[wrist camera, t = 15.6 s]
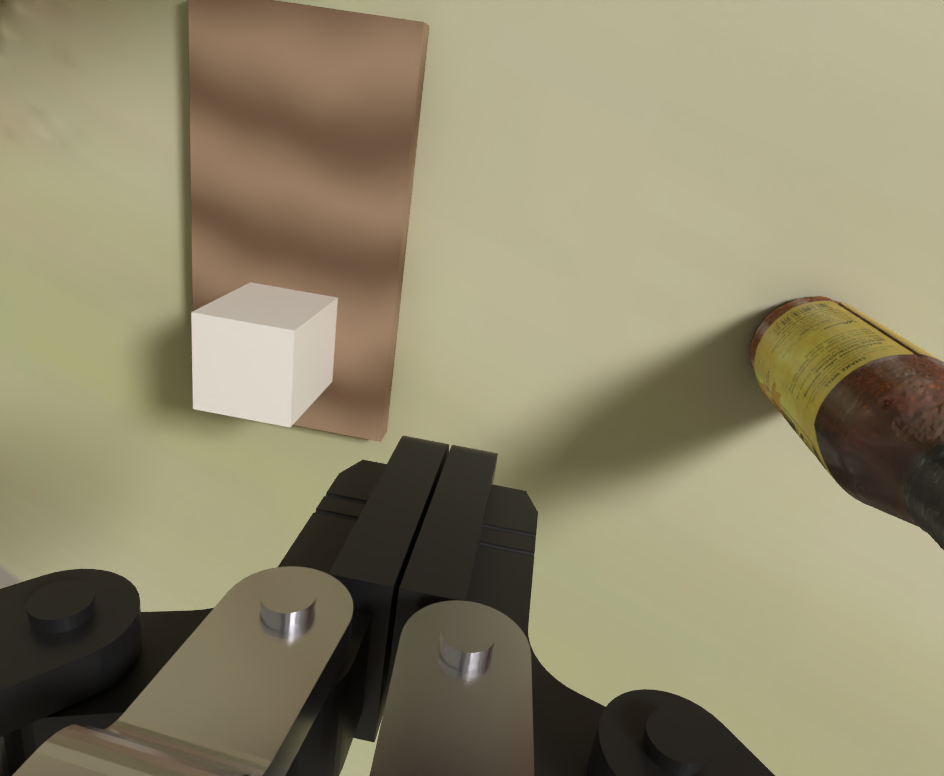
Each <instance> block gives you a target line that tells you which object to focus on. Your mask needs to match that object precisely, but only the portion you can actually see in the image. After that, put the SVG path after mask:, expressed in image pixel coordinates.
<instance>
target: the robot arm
mask: <svg viewBox="0 0 944 776" xmlns="http://www.w3.org/2000/svg"><path fill="white" fill-rule="evenodd" d="M497 456H498V453H492V452H487V451H482V450H477V449H471V448H466V447H461V446H456V445H452V446H451V449H450V451H449V444H444V443H439V442H434V441H429V440H423V439H418V438H413V437H408V436H402V437H401V439H400V441H399V443H398V445H397V447H396V448H395V450H394V452H393V454H392V456H391V458H390V460H389V462H388V463H387V464H382V463H377V462H372V461H367V460H362V461H360V462H358V463H357V464H355V465H353V466H351V467H350V468H348V469H346V470H344V471H343V472H341V473H339V475H338V476H337V478H336V479H335V481H334V482H333V484H332V485H331V487H330V488H329V490H328V491H327V494H326V497H325V496H324V497H323V499H322V500H321V502H320V504H319V505H318V507H317V508H316V512H315V513H313V514H312V516H311V517H310V519H309V520H308V522H307V523H306V525H305V526H304V528H303V529H302V531H301V533H300V534H299V536H298V537H297V539H296V540H295V542H294V543H293V545H292V546H291V548H290V549H289V551H288V552H287V554H286V555H285V557H284V558H283V560H282V561H281V563H280V565H279V566H278V567H277V568H271V569H267V570H263V571H260V572H257V573H255V574H252V575H250V576H248V577H246V578H244V579H243V580H241V581H240V582H238V583H237V584H236V585H234V586H233V587H232V588H231V589H230V590H229V591H228V592H227V594H226V595H225V596H224V597H223V598H222V599H221V601H220V602H219V603H218V604H217V605H216V606H215V608H210V609H205V610H193V611H163V612H141V611H140V598H139V593H138V591H137V589H136V587H135V586H134V585H133V584H132V583H131V582H130V581H129V580H127V579H126V578H124V577H122V576H120V575H118V574H115V573H112V572H108V571H104V570H96V569H74V570H65V571H60V572H54V573H51V574H47V575H43V576H40V577H37V578H34V579H30V580H27V581H24V582H21V583H18V584H15V585H12V586H8V587H5V588H2V589H0V776H339V774H340V772H341V770H342V768H343V765H344V762H345V759H346V757H347V754H348V751H349V748H350V745H351V742H352V740H353V738H357V739H362V740H366V741H371V742H375V739H376V736H377V732H378V729H379V726H380V723H381V727H380V731H379V736H378V740H377V745H376V749H375V754H374V758H373V763H372V767H371V772H370V776H775V775H774V774H773V773H772V772H771V771H770V770H769V769H768V768H767V767H766V766H765V765H764V764H763V763H762V762H761V761H760V760H759V759H758V758H757V757H756V756H755V755H754V754H753V753H752V752H751V751H749V750H748V749H747V748H746V747H745V746H744V745H743V744H742V743H741V742H740V741H739V740H738V739H737V738H736V737H735V736H734V735H733V734H732V733H731V732H730V731H729V730H728V729H727V728H726V727H725V726H724V725H723V724H722V723H721V722H720V721H719V720H718V719H717V718H715V717H714V716H713V715H712V714H711V713H709V712H708V711H706V710H705V709H704V708H702V707H700V706H699V705H697V704H695V703H693V702H692V701H690V700H687V699H685V698H683V697H680V696H678V695H675V694H671V693H668V692H664V691H658V690H645V689H643V690H634V691H630V692H627V693H623V694H621V695H620V696H618V697H616V698H614V699H613V700H612V701H611V702H610V703H609V704H608V705H607V706H606V707H605V706H603V705H601V704H599V703H597V702H595V701H593V700H591V699H589V698H587V697H585V696H583V695H581V694H579V693H577V692H575V691H573V690H571V689H570V688H568V687H566V686H565V685H563V684H562V683H561V682H559V681H558V680H556V679H555V678H554V677H553V676H552V675H551V674H550V673H549V672H548V671H547V670H546V669H545V668H544V667H543V666H542V665H541V663H540V662H539V661H538V659H537V657H536V656H535V654H534V652H533V650H532V648H531V645H530V642H529V637H528V622H529V610H530V599H531V587H532V575H533V564H534V552H535V540H536V538H535V537H536V529H537V517H538V511H537V510H536V508H535V506H534V505H533V503H532V501H531V499H530V498H529V496H528V494H527V492H526V491H522V490H517V489H512V488H507V487H502V486H497V485H493V480H494V474H495V468H496V462H497ZM382 717H383V718H382ZM381 720H382V722H381Z"/></svg>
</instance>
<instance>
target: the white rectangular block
mask: <svg viewBox="0 0 944 776" xmlns="http://www.w3.org/2000/svg"><path fill="white" fill-rule="evenodd" d="M337 303H338V298H337V297H331V296H326V295H320V294H314V293H309V292H303V291H297V290H291V289H286V288H280V287H274V286H268V285H263V284H257V283H251V282H250V283H248V284H246V285H244V286H242V287H240V288H238V289H236V290H234V291H232V292H230V293H228V294H226V295H224V296H222V297H220V298H218V299H216V300H214V301H212V302H210V303H208V304H207V305H205V306H203V307H201V308H199V309H197V310H195V311H193V312H191V322H192V378H193V409H196V410H201V411H206V412H211V413H217V414H222V415H227V416H232V417H238V418H243V419H248V420H253V421H259V422H264V423H269V424H274V425H280V426H285V427H291V426H292V425H293V424H294V423H295V422H296V421H297V420H298V419H299V418H300V416H301V415H302V414H303V413H304V412H305V411H306V410H307V409H308V408H309V407H310V405H311V404H312V403H313V402H314V401H315V400H316V399H317V398H318V397H319V396H320V395H321V393H322V392H323V391H324V390H325V389H326V388H327V387H328V386H329V385H330V384H331V382H332V378H333V363H334V348H335V333H336V318H337Z"/></svg>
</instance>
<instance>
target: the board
mask: <svg viewBox="0 0 944 776" xmlns="http://www.w3.org/2000/svg"><path fill="white" fill-rule="evenodd" d="M188 26H189V94H190V161H191V229H192V296H193V311H195V310H197V309H199V308H201V307H203V306H205V305H207V304H208V303H210V302H212V301H214V300H216V299H218V298H220V297H222V296H224V295H226V294H228V293H230V292H232V291H234V290H236V289H238V288H240V287H242V286H244V285H246V284H248V283H250V282H251V283H257V284H263V285H268V286H274V287H280V288H286V289H291V290H297V291H303V292H309V293H314V294H320V295H326V296H331V297H337V298H338V303H337V318H336V333H335V348H334V363H333V378H332V382H331V384H330V385H329V386H328V387H327V388H326V389H325V390H324V391H323V392H322V393H321V395H320V396H319V397H318V398H317V399H316V400H315V401H314V402H313V403H312V404H311V405H310V407H309V408H308V409H307V410H306V411H305V412H304V413H303V414H302V415H301V416H300V418H299V419H298V420H297V421H296V422H295V423H294V424H293V425H296V426H301V427H307V428H312V429H317V430H322V431H327V432H333V433H338V434H343V435H348V436H353V437H359V438H364V439H369V440H374V441H380V442H381V440H382V439H383V437H384V435H385V433H386V432H387V424H388V414H389V405H390V395H391V386H392V376H393V367H394V357H395V348H396V338H397V328H398V319H399V309H400V300H401V290H402V281H403V271H404V262H405V252H406V243H407V233H408V223H409V214H410V204H411V195H412V185H413V176H414V166H415V157H416V147H417V137H418V128H419V118H420V109H421V99H422V90H423V80H424V71H425V61H426V52H427V42H428V32H429V26H428V25H427V24H425V23H424V22H419V21H412V20H405V19H398V18H391V17H385V16H378V15H371V14H364V13H357V12H350V11H343V10H336V9H330V8H323V7H316V6H309V5H302V4H295V3H288V2H282V1H275V0H188Z"/></svg>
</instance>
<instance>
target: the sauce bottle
mask: <svg viewBox="0 0 944 776" xmlns="http://www.w3.org/2000/svg"><path fill="white" fill-rule="evenodd" d="M750 360H751V364H752V367H753V369H754V373H755V377H756V379H757V381H758V384H759V386H760V388H761V389H762V391H763V392H764V393H765V395H766V396H767V397H768V398H769V399H770V401H771V402H772V403H773V404H774V406H775V407H776V408H777V409H778V410H779V412H780V413H781V414H782V415H783V417H784V418H785V419H786V420H787V422H788V423H789V424H790V426H791V427H792V428H793V429H794V430H795V432H796V433H797V434H798V435H799V437H800V438H801V439H802V441H803V442H804V443H805V444H806V445H807V447H808V448H809V449H810V450H811V451H812V453H813V454H814V455H815V456H816V457H817V459H818V460H819V461H820V462H821V464H822V465H823V467H824V468H825V469H826V470H827V471H828V472H829V474H830V475H831V476H832V477H833V478H834V479H835V481H836V482H837V483H838V484H839V485H840V486H841V487H842V488H843V489H844V490H845V491H846V492H847V493H848V494H850V495H851V496H852V497H854V498H855V499H857V500H859V501H861V502H862V503H864V504H867V505H869V506H872V507H874V508H876V509H879V510H881V511H883V512H886V513H888V514H890V515H893V516H895V517H897V518H900V519H902V520H904V521H907V522H909V523H911V524H914V525H916V526H919V527H920V528H921V529H922V530H923V531H925V532H927V533H928V534H929V535H930V536H931V537H932V538H933V539H934V540H935V541H936V542H937V543H938V544H939V546H940V547H941V548H942V549H943V550H944V362H943V361H941V360H940V359H938V358H936V357H935V356H933V355H931V354H930V353H928V352H926V351H925V350H923V349H921V348H920V347H918V346H916V345H915V344H913V343H911V342H910V341H908V340H906V339H905V338H903V337H902V336H900V335H898V334H897V333H895V332H893V331H892V330H890V329H888V328H887V327H885V326H883V325H882V324H880V323H878V322H877V321H875V320H873V319H872V318H870V317H868V316H867V315H865V314H863V313H862V312H860V311H858V310H857V309H855V308H853V307H852V306H850V305H848V304H845V303H842V302H837V301H833V300H831V299H829V298H827V297H821V296H818V297H804V298H800V299H796V300H794V301H792V302H789V303H787V304H784V305H782V306H780V307H778V308H776V309H775V310H773V311H772V312H771V313H770V314H769V315H768V316H767V317H766V318H765V319H763V321H762V323H761V324H760V326H759V327H758V328H757V330H756V331H755V335H754V337H753V339H752V341H751V346H750Z"/></svg>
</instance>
